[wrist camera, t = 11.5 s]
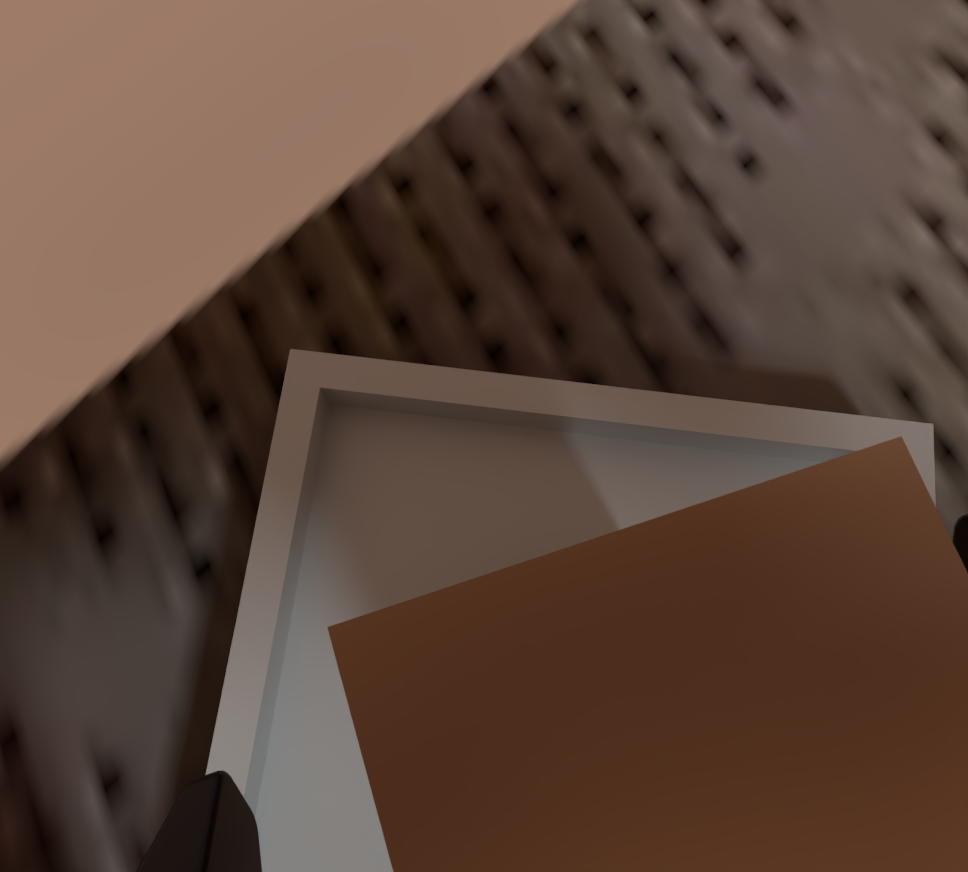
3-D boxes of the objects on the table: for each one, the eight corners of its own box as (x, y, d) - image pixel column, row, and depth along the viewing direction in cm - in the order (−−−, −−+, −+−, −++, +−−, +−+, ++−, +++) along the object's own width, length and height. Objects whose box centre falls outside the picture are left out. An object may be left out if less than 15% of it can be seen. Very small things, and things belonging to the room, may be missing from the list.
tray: (895, 1144, 15) (956, 1217, 13) (182, 1045, 16) (141, 1100, 14) (886, 447, 19) (933, 423, 17) (309, 378, 19) (290, 348, 17)
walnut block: (729, 802, 16) (1225, 1105, 5) (496, 888, 16) (536, 1403, 5) (640, 567, 17) (901, 436, 7) (422, 641, 17) (327, 626, 6)
